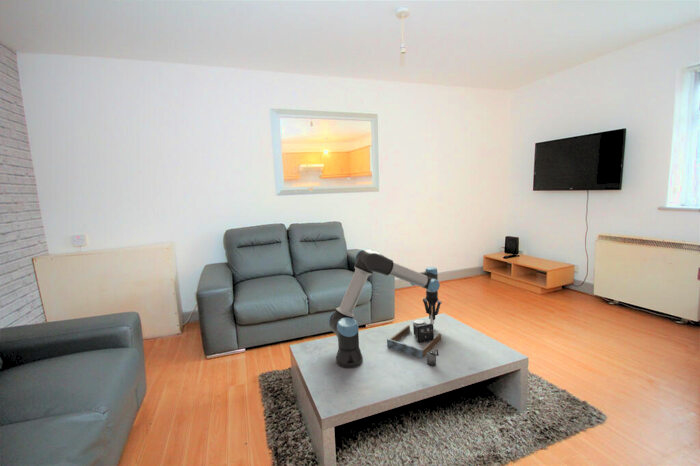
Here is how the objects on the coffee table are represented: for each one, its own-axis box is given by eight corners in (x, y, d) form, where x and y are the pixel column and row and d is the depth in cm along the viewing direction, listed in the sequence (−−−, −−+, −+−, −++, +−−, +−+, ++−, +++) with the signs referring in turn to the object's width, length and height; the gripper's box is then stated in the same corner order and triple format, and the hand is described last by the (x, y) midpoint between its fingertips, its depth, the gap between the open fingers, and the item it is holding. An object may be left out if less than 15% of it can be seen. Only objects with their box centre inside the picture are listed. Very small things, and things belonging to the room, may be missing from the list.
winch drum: (425, 364, 171) (424, 348, 170) (429, 360, 175) (429, 344, 174) (436, 368, 167) (436, 352, 166) (440, 364, 171) (440, 348, 170)
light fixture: (424, 333, 208) (423, 317, 207) (434, 341, 196) (434, 324, 195) (409, 335, 206) (408, 319, 205) (418, 344, 193) (417, 327, 192)
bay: (387, 347, 192) (386, 339, 191) (408, 330, 212) (408, 323, 211) (422, 358, 177) (422, 350, 176) (441, 340, 197) (441, 332, 196)
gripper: (420, 290, 211) (420, 323, 214) (438, 293, 202) (439, 328, 206) (425, 287, 216) (425, 319, 220) (443, 290, 208) (443, 324, 212)
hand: (432, 323), depth 213 cm, fingers closed
